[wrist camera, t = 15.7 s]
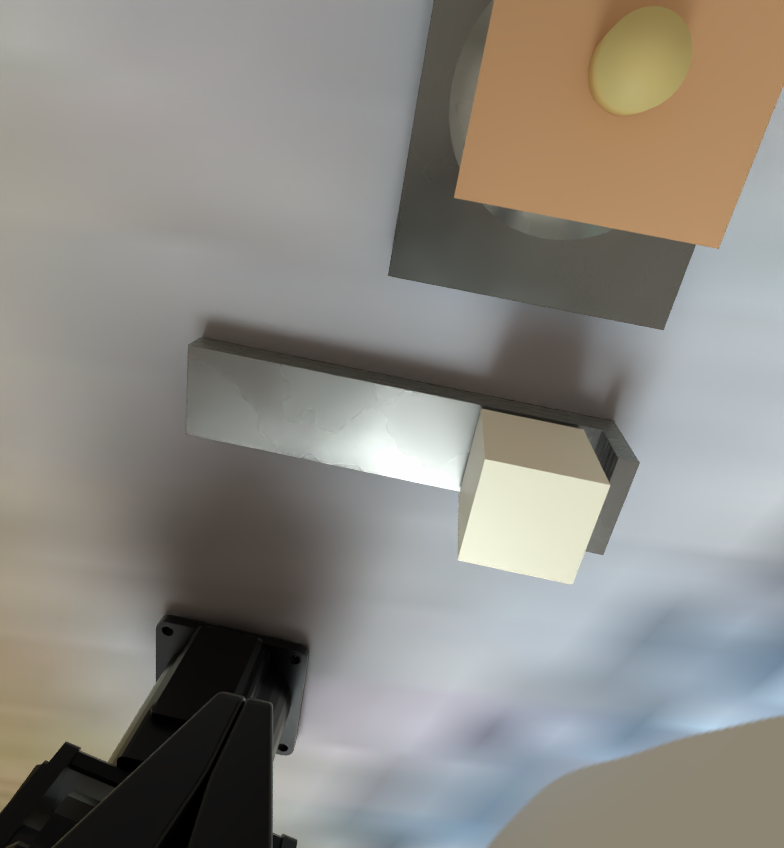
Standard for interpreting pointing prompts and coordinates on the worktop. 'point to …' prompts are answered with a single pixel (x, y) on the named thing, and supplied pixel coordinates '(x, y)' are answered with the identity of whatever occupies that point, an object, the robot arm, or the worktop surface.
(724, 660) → the worktop surface
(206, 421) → the ram rail
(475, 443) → the block
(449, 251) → the plate
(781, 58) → the block
